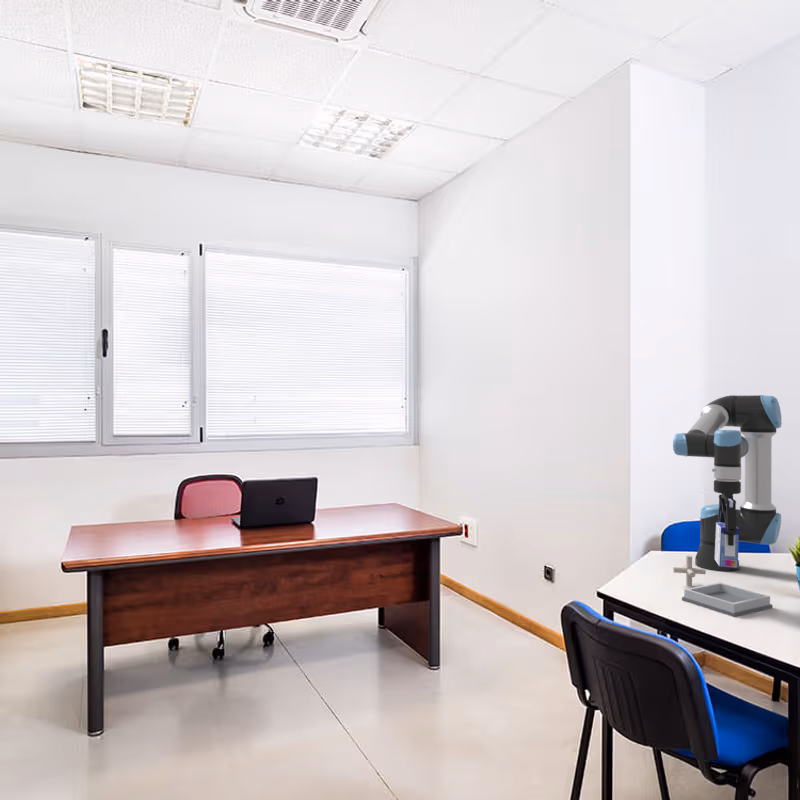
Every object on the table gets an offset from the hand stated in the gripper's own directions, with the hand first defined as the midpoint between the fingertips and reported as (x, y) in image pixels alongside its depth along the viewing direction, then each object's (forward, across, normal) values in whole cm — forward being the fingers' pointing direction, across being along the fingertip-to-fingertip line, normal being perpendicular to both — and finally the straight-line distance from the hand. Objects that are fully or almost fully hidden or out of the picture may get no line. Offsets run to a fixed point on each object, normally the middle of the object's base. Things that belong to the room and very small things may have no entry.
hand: (726, 552), depth 205 cm
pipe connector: (+16, -18, -8) cm, 26 cm away
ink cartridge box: (+4, 0, 0) cm, 4 cm away
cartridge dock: (+16, 0, 0) cm, 16 cm away
